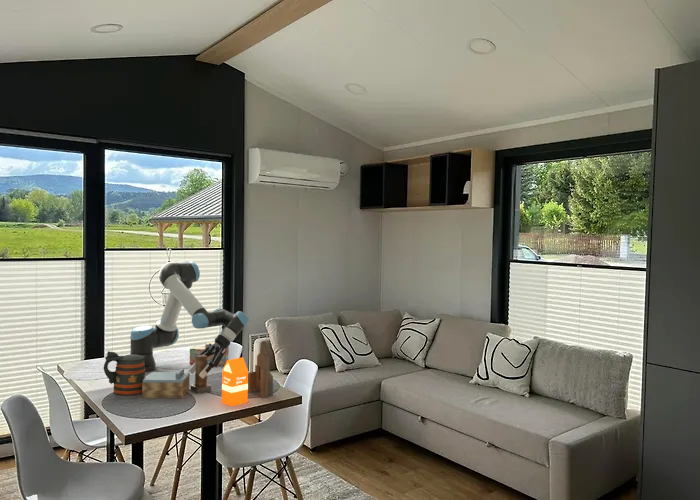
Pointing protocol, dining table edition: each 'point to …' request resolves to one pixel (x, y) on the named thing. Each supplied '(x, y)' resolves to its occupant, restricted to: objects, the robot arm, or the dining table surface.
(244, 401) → the orange juice
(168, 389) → the toolbox
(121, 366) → the beer stein
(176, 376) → the lid
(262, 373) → the wooden toy
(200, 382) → the pin
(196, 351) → the stack of blocks
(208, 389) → the socket
